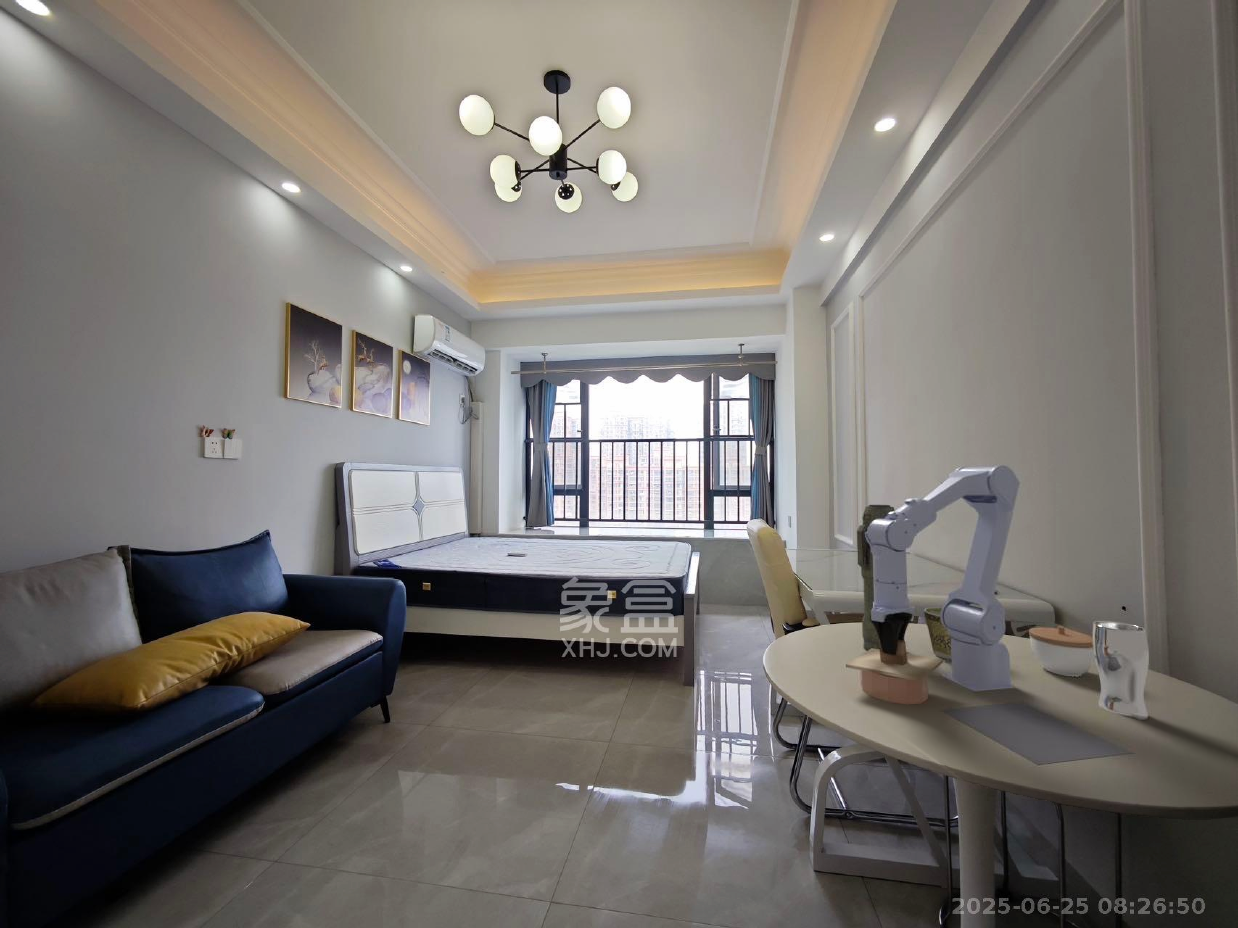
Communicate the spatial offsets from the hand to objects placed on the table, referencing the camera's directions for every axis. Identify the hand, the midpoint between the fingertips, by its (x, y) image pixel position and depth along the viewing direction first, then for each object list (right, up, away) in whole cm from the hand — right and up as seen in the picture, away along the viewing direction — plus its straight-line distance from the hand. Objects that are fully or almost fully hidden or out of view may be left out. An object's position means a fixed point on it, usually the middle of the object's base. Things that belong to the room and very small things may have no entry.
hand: (892, 651), depth 94 cm
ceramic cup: (+26, -9, +20) cm, 34 cm away
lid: (0, -2, 0) cm, 2 cm away
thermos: (+11, -9, +24) cm, 28 cm away
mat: (+14, -7, -15) cm, 22 cm away
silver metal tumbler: (+36, -8, -8) cm, 38 cm away
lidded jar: (+42, -8, +10) cm, 44 cm away
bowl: (0, -8, 0) cm, 8 cm away
